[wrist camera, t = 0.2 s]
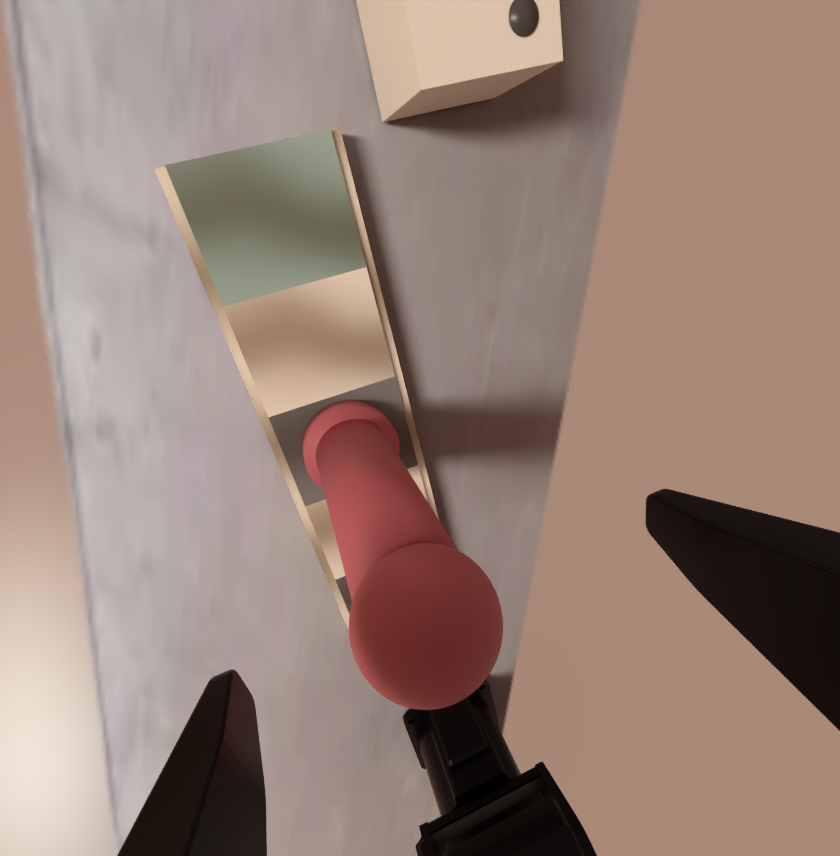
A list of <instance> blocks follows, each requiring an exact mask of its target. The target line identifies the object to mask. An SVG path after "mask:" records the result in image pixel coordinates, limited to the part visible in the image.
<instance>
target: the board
mask: <svg viewBox="0 0 840 856" xmlns="http://www.w3.org/2000/svg"><path fill="white" fill-rule="evenodd" d="M154 170H155V172H156V174H157V177H158V179H159V181H160V184H161V186H162V189H163V191H164V193H165V196H166V198H167V200H168V203H169V205H170V208H171V210H172V212H173V215H174V217H175V219H176V222H177V224H178V227H179V229H180V231H181V234H182V236H183V238H184V241H185V243H186V245H187V248H188V250H189V253H190V255H191V257H192V260H193V262H194V264H195V267H196V269H197V272H198V274H199V276H200V279H201V281H202V283H203V286H204V288H205V291H206V293H207V295H208V298H209V300H210V302H211V305H212V307H213V310H214V312H215V314H216V317H217V319H218V321H219V324H220V326H221V329H222V331H223V333H224V336H225V338H226V340H227V343H228V345H229V347H230V350H231V352H232V355H233V357H234V359H235V362H236V364H237V366H238V369H239V371H240V374H241V376H242V378H243V381H244V383H245V385H246V388H247V390H248V393H249V395H250V397H251V400H252V402H253V404H254V407H255V409H256V412H257V414H258V416H259V419H260V421H261V423H262V426H263V428H264V430H265V433H266V435H267V438H268V440H269V442H270V445H271V447H272V449H273V452H274V454H275V457H276V459H277V461H278V464H279V466H280V468H281V471H282V473H283V476H284V478H285V480H286V483H287V485H288V487H289V490H290V492H291V495H292V497H293V499H294V502H295V504H296V506H297V509H298V511H299V514H300V516H301V518H302V521H303V523H304V525H305V528H306V530H307V532H308V535H309V537H310V540H311V542H312V544H313V547H314V549H315V551H316V554H317V556H318V559H319V561H320V563H321V566H322V568H323V570H324V573H325V575H326V578H327V580H328V582H329V585H330V587H331V589H332V592H333V594H334V597H335V599H336V601H337V604H338V606H339V608H340V611H341V613H342V615H343V618H344V620H345V623H346V625H347V627H348V630H349V614H350V609H351V605H352V599H351V595H350V591H349V588H348V584H347V580H346V576H345V572H344V568H343V564H342V560H341V556H340V552H339V549H338V545H337V541H336V537H335V533H334V529H333V525H332V521H331V517H330V513H329V510H328V506H327V502H326V498H325V494H324V490H323V489H322V488H321V487H319V486H318V485H317V484H316V483H315V482H314V481H313V480H312V478H311V477H310V476H309V474H308V472H307V469H306V466H305V462H304V457H303V451H302V439H303V434H304V431H305V429H306V426H307V425H308V423H309V421H310V420H311V419H312V417H313V416H314V415H315V414H316V413H317V412H318V411H320V410H321V409H323V408H324V407H326V406H328V405H329V404H332V403H334V402H338V401H342V400H361V401H365V402H367V403H370V404H372V405H374V406H376V407H377V408H378V409H380V410H381V411H382V412H383V413H384V414H385V415H386V417H387V418H388V420H389V421H390V423H391V424H392V425H393V427H394V429H395V430H396V432H397V435H398V438H399V443H400V453H399V457H400V459H401V460H402V462H403V463H404V465H405V467H406V468H407V470H408V471H409V473H410V475H411V476H412V478H413V479H414V481H415V483H416V484H417V486H418V487H419V489H420V491H421V492H422V494H423V495H424V497H425V499H426V500H427V502H428V503H429V505H430V507H431V508H432V510H433V511H434V513H435V515H436V516H437V518H438V519H439V517H438V513H437V509H436V505H435V501H434V497H433V494H432V490H431V486H430V482H429V478H428V474H427V470H426V466H425V462H424V458H423V454H422V450H421V446H420V442H419V438H418V434H417V430H416V426H415V422H414V418H413V415H412V411H411V407H410V403H409V399H408V395H407V391H406V387H405V383H404V379H403V375H402V371H401V367H400V363H399V359H398V355H397V351H396V347H395V343H394V339H393V335H392V332H391V328H390V324H389V320H388V316H387V312H386V308H385V304H384V300H383V296H382V292H381V288H380V284H379V280H378V276H377V272H376V268H375V264H374V260H373V256H372V252H371V249H370V245H369V241H368V237H367V233H366V229H365V225H364V221H363V217H362V213H361V209H360V205H359V201H358V197H357V193H356V189H355V185H354V181H353V177H352V173H351V169H350V166H349V162H348V158H347V154H346V150H345V146H344V142H343V138H342V134H341V130H340V129H335V130H327V131H322V132H317V133H313V134H308V135H303V136H299V137H294V138H290V139H285V140H280V141H276V142H271V143H266V144H262V145H257V146H253V147H248V148H243V149H239V150H234V151H229V152H225V153H220V154H215V155H211V156H206V157H202V158H197V159H192V160H188V161H183V162H178V163H174V164H169V165H165V166H164V167H159V168H155V169H154Z"/></svg>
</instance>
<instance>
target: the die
mask: <svg viewBox="0 0 840 856" xmlns="http://www.w3.org/2000/svg"><path fill="white" fill-rule="evenodd" d="M356 2H357V7H358V11H359V16H360V21H361V25H362V30H363V35H364V39H365V44H366V48H367V53H368V58H369V62H370V67H371V71H372V76H373V81H374V85H375V90H376V95H377V99H378V104H379V108H380V113H381V118H382V122H386V121H391V120H395V119H400V118H405V117H409V116H414V115H418V114H423V113H428V112H432V111H437V110H441V109H446V108H451V107H455V106H460V105H464V104H469V103H474V102H478V101H483V100H487V99H492V98H495V97H497V96H499V95H501V94H503V93H505V92H506V91H508V90H510V89H512V88H514V87H516V86H518V85H519V84H521V83H523V82H525V81H527V80H529V79H530V78H532V77H534V76H536V75H538V74H540V73H541V72H543V71H545V70H547V69H549V68H551V67H552V66H554V65H556V64H558V63H560V62H562V61H563V50H562V34H561V19H560V3H559V0H356Z"/></svg>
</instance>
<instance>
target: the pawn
mask: <svg viewBox="0 0 840 856" xmlns="http://www.w3.org/2000/svg"><path fill="white" fill-rule="evenodd" d="M302 451H303V457H304V462H305V466H306V469H307V472H308V474H309V476H310V477H311V478H312V480H313V481H314V482H315V483H316V484H317V485H318V486H319V487H321V488H322V489H323V490H324V494H325V498H326V502H327V506H328V510H329V513H330V517H331V521H332V525H333V529H334V533H335V537H336V541H337V545H338V549H339V552H340V556H341V560H342V564H343V568H344V572H345V576H346V580H347V584H348V588H349V591H350V595H351V599H352V605H351V609H350V614H349V636H350V643H351V648H352V651H353V654H354V657H355V660H356V662H357V664H358V666H359V668H360V670H361V672H362V674H363V675H364V677H365V678H366V679H367V681H368V682H369V683H370V684H371V685H372V687H374V688H375V689H376V690H377V691H378V692H379V693H380V694H382V695H383V696H384V697H386V698H387V699H389V700H391V701H393V702H394V703H396V704H399V705H402V706H405V707H408V708H412V709H420V710H434V709H440V708H444V707H448V706H451V705H453V704H456V703H458V702H460V701H462V700H463V699H465V698H466V697H468V696H469V695H471V694H472V693H473V692H474V691H475V690H476V689H478V688H479V687H480V686H481V684H482V683H483V682H484V681H485V680H486V678H487V677H488V675H489V673H490V672H491V670H492V669H493V667H494V665H495V663H496V660H497V657H498V654H499V651H500V647H501V642H502V635H503V619H502V612H501V606H500V603H499V599H498V596H497V594H496V591H495V589H494V587H493V585H492V583H491V582H490V580H489V578H488V577H487V575H486V574H485V573H484V572H483V570H482V569H481V568H480V567H479V566H478V565H477V564H476V563H475V562H474V561H473V560H472V559H470V558H469V557H468V556H466V555H464V554H463V553H461V552H460V551H458V550H457V548H456V547H455V545H454V543H453V542H452V540H451V539H450V537H449V535H448V534H447V532H446V531H445V529H444V527H443V526H442V524H441V523H440V521H439V519H438V518H437V516H436V515H435V513H434V511H433V510H432V508H431V507H430V505H429V503H428V502H427V500H426V499H425V497H424V495H423V494H422V492H421V491H420V489H419V487H418V486H417V484H416V483H415V481H414V479H413V478H412V476H411V475H410V473H409V471H408V470H407V468H406V467H405V465H404V463H403V462H402V460H401V459H400V457H399V453H400V443H399V438H398V435H397V432H396V430H395V429H394V427H393V425H392V424H391V423H390V421H389V420H388V418H387V417H386V415H385V414H384V413H383V412H382V411H381V410H380V409H378V408H377V407H376V406H374V405H372V404H370V403H367V402H365V401H361V400H342V401H338V402H334V403H332V404H329V405H328V406H326V407H324V408H323V409H321V410H320V411H318V412H317V413H316V414H315V415H314V416H313V417H312V419H311V420H310V421H309V423H308V425H307V426H306V429H305V431H304V434H303V439H302Z"/></svg>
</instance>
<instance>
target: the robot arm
mask: <svg viewBox="0 0 840 856" xmlns="http://www.w3.org/2000/svg"><path fill="white" fill-rule="evenodd" d="M646 527H647V529H648V531H649V533H650V535H651V536H652V537H653V538H654V539H655V541H656V542H657V543H658V544H659V545H660V547H661V548H662V549H663V550H664V551H665V553H666V554H667V555H668V556H669V557H670V559H671V560H672V561H673V562H674V563H675V565H676V566H677V567H678V568H679V569H680V570H681V572H682V573H683V574H684V575H685V576H686V578H687V579H688V580H689V581H690V582H691V583H692V585H693V586H694V587H695V588H696V589H697V590H698V591H699V592H700V593H701V594H702V595H703V596H704V597H705V598H706V599H707V600H708V601H709V602H710V603H711V604H712V605H713V606H714V607H715V608H716V609H717V610H718V611H719V612H720V613H721V614H722V615H723V616H724V617H725V618H726V619H727V620H728V621H729V622H730V623H731V624H732V625H733V626H734V627H735V628H736V629H737V630H738V631H739V632H740V633H741V634H742V635H743V636H744V637H745V638H746V639H747V640H748V641H749V642H750V643H751V644H752V645H753V646H755V648H756V649H757V650H758V651H759V652H760V653H761V654H762V655H763V656H765V658H766V659H767V660H769V661H770V662H771V663H772V665H774V666H775V667H776V668H777V669H778V670H779V671H780V672H781V673H782V674H783V675H784V676H785V677H786V678H787V679H788V680H789V681H790V682H791V683H792V684H793V685H794V686H795V687H796V688H797V689H798V690H799V691H800V692H801V693H802V694H803V695H804V696H805V697H806V698H807V699H808V700H809V701H810V702H811V703H812V704H813V705H814V706H815V707H816V708H817V709H818V710H819V711H820V712H821V713H822V714H823V715H825V717H826V718H827V719H828V720H829V721H830V722H831V723H832V724H833V725H834V726H835V727H836V728H837V729H838V730H839V731H840V533H839V532H835V531H831V530H827V529H824V528H820V527H815V526H812V525H807V524H804V523H800V522H796V521H792V520H788V519H784V518H780V517H776V516H772V515H768V514H764V513H760V512H756V511H752V510H748V509H744V508H740V507H736V506H732V505H729V504H724V503H720V502H717V501H713V500H709V499H705V498H701V497H697V496H693V495H689V494H685V493H681V492H677V491H673V490H669V489H662V490H659V491H657V492H654V493H652V494H650V495H648V497H647V499H646ZM403 721H404V724H405V727H406V729H407V732H408V734H409V737H410V739H411V742H412V744H413V747H414V749H415V752H416V754H417V757H418V759H419V762H420V765H421V767H422V768H423V769H427V773H428V776H429V779H430V782H431V785H432V789H433V792H434V795H435V798H436V801H437V804H438V808H439V811H440V814H441V817H439V818H437V819H435V820H433V821H431V822H429V823H428V822H426V823H424V824H422V825H420V826H419V827H420V832H421V836H422V837H421V839H420V840H419V842H418V843H417V845H416V850H417V854H418V856H597V855H596V853H595V851H594V849H593V847H592V844H591V842H590V840H589V838H588V836H587V834H586V832H585V830H584V828H583V827H582V825H581V823H580V821H579V820H578V818H577V816H576V815H575V813H574V811H573V810H572V808H571V807H570V805H569V803H568V802H567V800H566V799H565V797H564V795H563V794H562V792H561V790H560V789H559V788H558V786H557V784H556V783H555V781H554V779H553V778H552V776H551V774H550V773H549V771H548V770H547V768H546V767H545V765H544V763H543V762H540V763H538V764H536V765H535V767H534V768H532V769H530V770H528V771H526V772H524V773H523V774H521V773H520V771H519V769H518V767H517V765H516V763H515V761H514V759H513V757H512V755H511V753H510V751H509V748H508V746H507V744H506V742H505V740H504V738H503V736H502V734H501V732H500V730H499V725H498V721H497V716H496V712H495V708H494V704H493V700H492V696H491V692H490V687H489V684H488V682H487V680H485V681H484V682H483V683H482V684H481V686H480V687H479V688H478V689H476V690H475V691H474V692H473V693H472V694H471V695H469V696H468V697H466V698H465V699H463V700H462V701H460V702H458V703H456V704H453V705H451V706H448V707H444V708H440V709H434V710H420V709H413V710H411V711H409V712H407V713H405V714H404V716H403ZM117 856H267V843H266V796H265V785H264V776H263V767H262V759H261V751H260V743H259V734H258V726H257V718H256V709H255V704H254V700H253V697H252V695H251V693H250V691H249V690H248V688H247V687H246V685H245V683H244V682H243V680H242V679H241V677H240V676H239V674H238V673H237V672H236V671H235V670H229V671H226V672H224V673H221V674H219V675H217V676H214V677H213V678H212V679H211V680H210V681H209V682H208V684H207V686H206V688H205V690H204V692H203V694H202V695H201V697H200V699H199V701H198V703H197V705H196V707H195V709H194V711H193V713H192V714H191V716H190V718H189V720H188V722H187V724H186V726H185V728H184V730H183V732H182V734H181V735H180V737H179V739H178V741H177V743H176V745H175V747H174V749H173V751H172V753H171V754H170V756H169V758H168V760H167V762H166V764H165V766H164V768H163V770H162V772H161V773H160V775H159V777H158V779H157V781H156V783H155V785H154V787H153V789H152V791H151V792H150V794H149V796H148V798H147V800H146V802H145V804H144V806H143V808H142V810H141V812H140V813H139V815H138V817H137V819H136V821H135V823H134V825H133V827H132V829H131V831H130V832H129V834H128V836H127V838H126V840H125V842H124V844H123V846H122V848H121V850H120V851H119V853H118V855H117Z"/></svg>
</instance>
